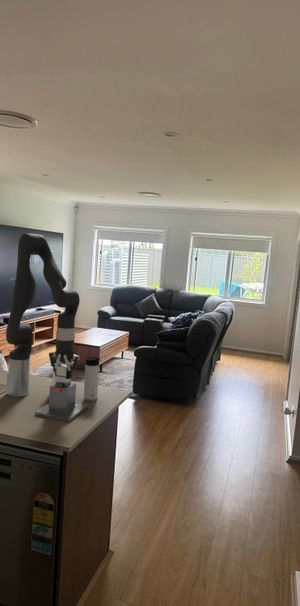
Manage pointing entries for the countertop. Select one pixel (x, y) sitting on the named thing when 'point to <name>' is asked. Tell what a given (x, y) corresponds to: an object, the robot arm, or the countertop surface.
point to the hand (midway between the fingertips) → (63, 377)
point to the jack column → (62, 375)
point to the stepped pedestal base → (62, 403)
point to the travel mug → (91, 379)
